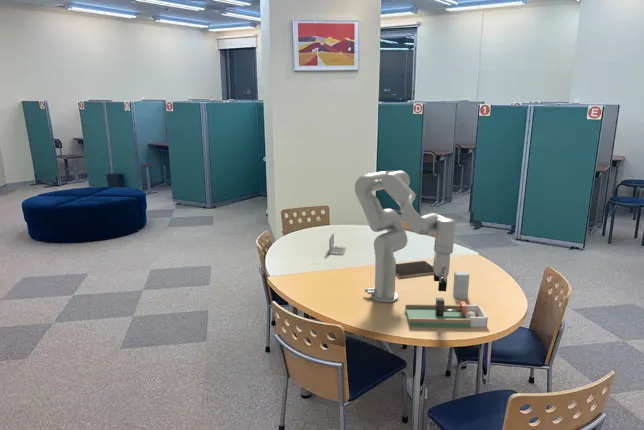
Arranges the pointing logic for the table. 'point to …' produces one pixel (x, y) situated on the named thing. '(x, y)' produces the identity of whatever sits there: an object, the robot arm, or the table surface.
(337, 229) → the table surface
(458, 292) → the skincare box
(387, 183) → the robot arm
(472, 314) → the ball
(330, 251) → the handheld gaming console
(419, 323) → the pitch board
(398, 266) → the hardcover book
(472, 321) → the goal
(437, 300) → the kicker rod
